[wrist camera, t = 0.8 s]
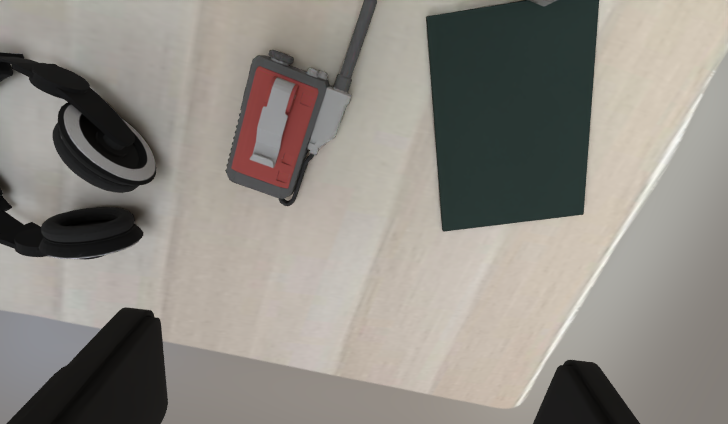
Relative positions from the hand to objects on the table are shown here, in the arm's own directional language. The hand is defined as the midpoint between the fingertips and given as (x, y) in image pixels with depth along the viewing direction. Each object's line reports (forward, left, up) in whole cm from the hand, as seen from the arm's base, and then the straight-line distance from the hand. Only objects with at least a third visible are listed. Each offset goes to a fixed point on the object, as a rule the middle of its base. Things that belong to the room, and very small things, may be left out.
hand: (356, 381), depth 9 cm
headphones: (-2, -30, -30) cm, 42 cm away
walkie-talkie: (-4, -6, -30) cm, 31 cm away
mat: (+1, +13, -30) cm, 33 cm away
